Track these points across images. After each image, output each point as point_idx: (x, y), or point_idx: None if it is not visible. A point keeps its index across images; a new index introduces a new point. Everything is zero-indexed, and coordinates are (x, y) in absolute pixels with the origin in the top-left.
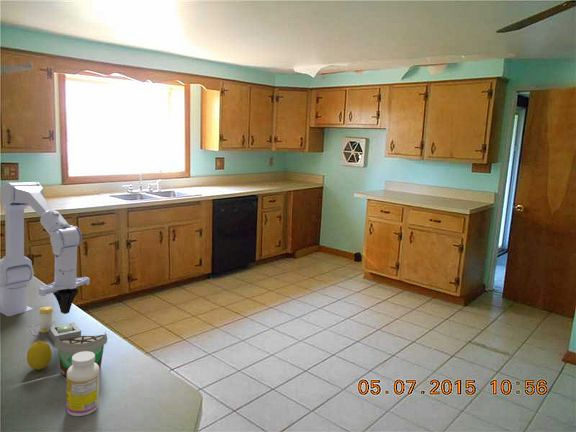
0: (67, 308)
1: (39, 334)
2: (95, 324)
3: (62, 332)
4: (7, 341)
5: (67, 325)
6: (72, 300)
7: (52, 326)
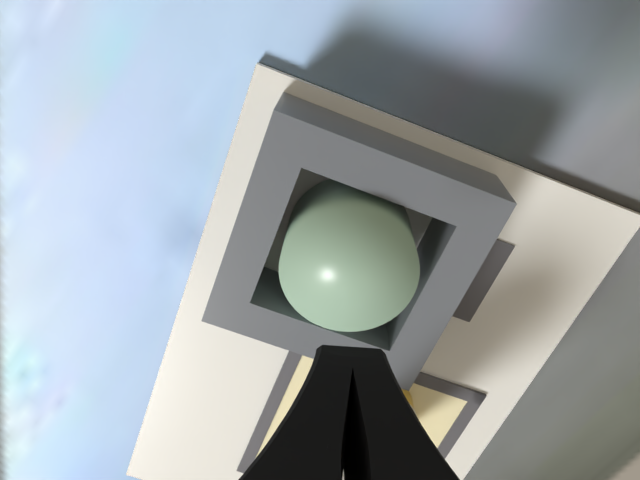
0: (360, 388)
1: (446, 387)
2: (22, 240)
3: (405, 228)
4: (621, 451)
5: (301, 293)
6: (270, 469)
7: None
